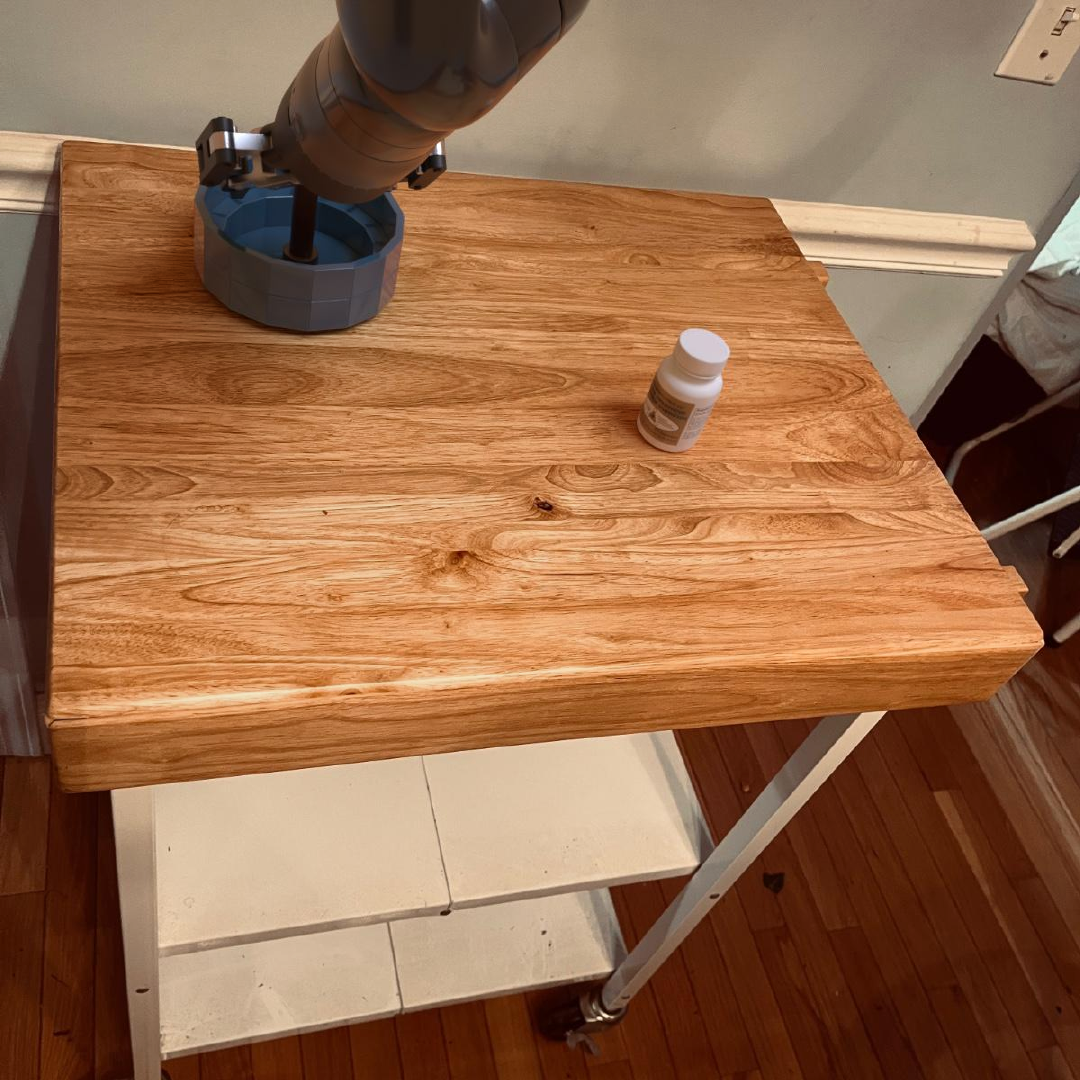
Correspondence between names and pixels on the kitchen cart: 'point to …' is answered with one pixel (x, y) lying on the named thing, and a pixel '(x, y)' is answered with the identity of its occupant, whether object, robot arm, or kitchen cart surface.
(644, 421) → the pill bottle
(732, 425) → the kitchen cart surface
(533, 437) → the kitchen cart surface
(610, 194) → the kitchen cart surface
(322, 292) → the bowl
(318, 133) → the robot arm
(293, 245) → the brown rubber stamp
